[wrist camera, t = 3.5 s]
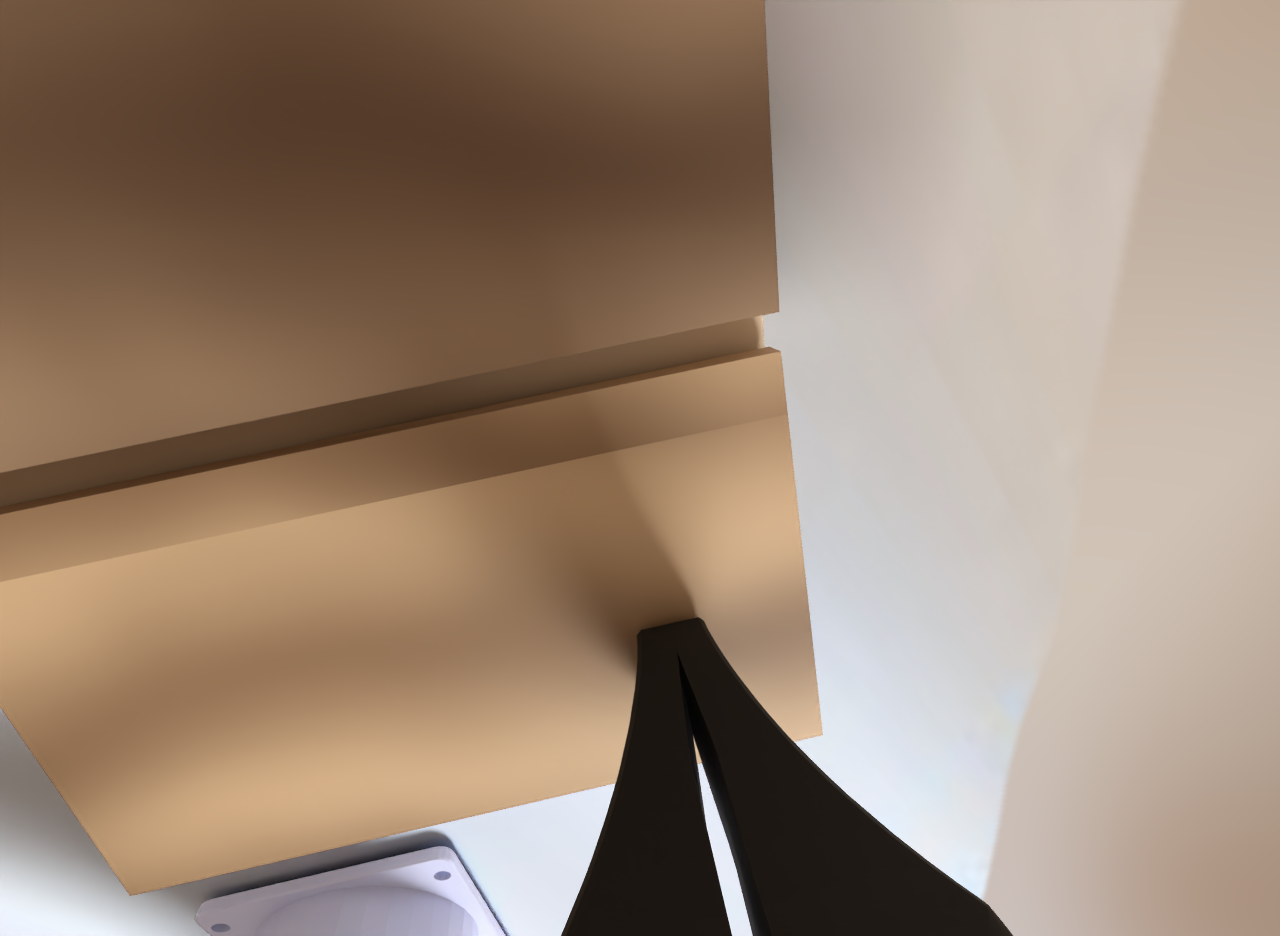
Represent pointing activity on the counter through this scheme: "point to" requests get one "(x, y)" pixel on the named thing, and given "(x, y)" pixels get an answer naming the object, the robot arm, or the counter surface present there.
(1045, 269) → the counter surface
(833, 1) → the counter surface
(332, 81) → the laid plank
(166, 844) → the loose plank
